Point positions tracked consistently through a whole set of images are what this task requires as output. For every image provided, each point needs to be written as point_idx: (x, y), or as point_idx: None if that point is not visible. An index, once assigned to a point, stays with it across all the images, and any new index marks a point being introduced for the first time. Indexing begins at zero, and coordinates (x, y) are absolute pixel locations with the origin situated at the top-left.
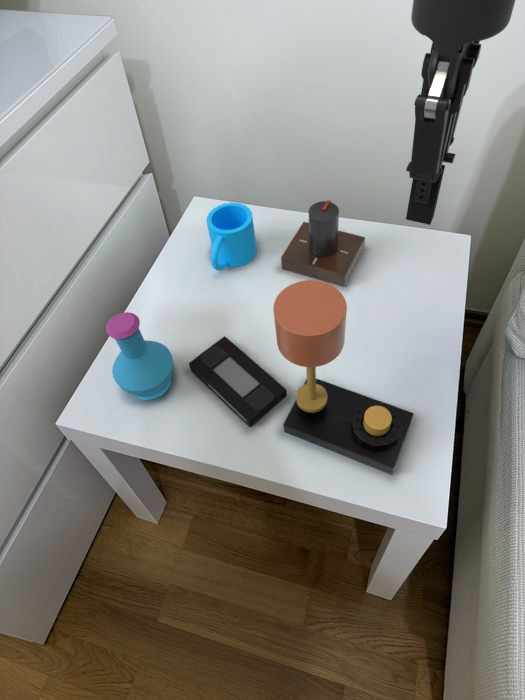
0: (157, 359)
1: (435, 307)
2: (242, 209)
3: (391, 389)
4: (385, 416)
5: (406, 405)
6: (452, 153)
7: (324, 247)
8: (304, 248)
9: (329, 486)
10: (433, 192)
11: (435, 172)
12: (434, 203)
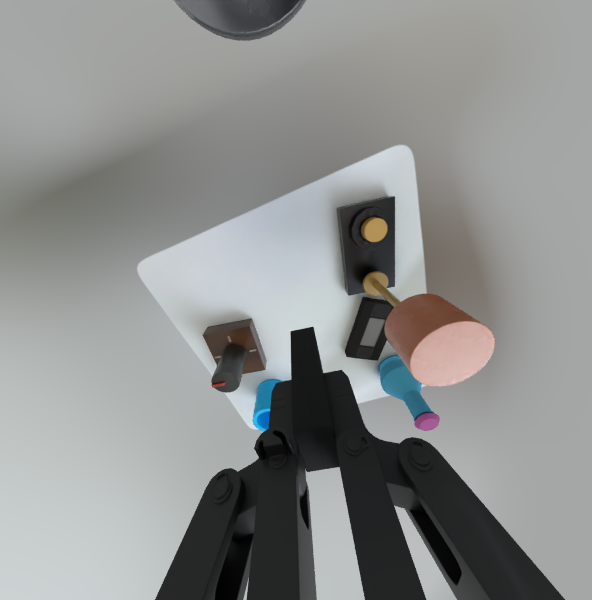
0: (404, 380)
1: (221, 248)
2: (256, 419)
3: (318, 237)
4: (372, 225)
5: (326, 218)
6: (258, 453)
7: (241, 354)
8: (246, 362)
9: (416, 232)
10: (324, 382)
11: (475, 496)
12: (319, 358)
